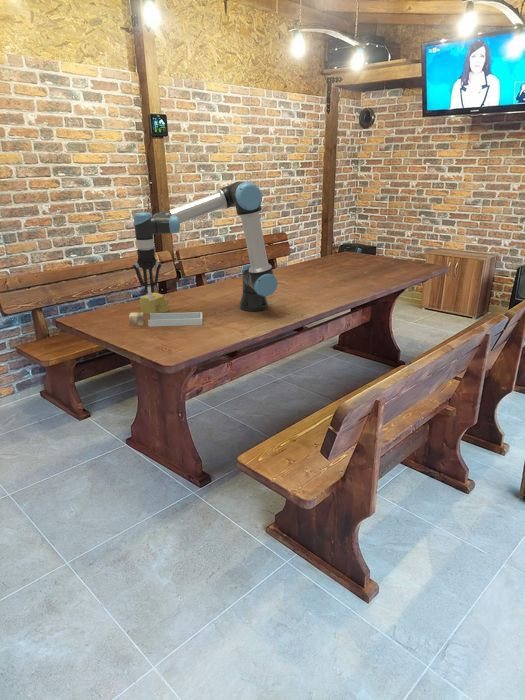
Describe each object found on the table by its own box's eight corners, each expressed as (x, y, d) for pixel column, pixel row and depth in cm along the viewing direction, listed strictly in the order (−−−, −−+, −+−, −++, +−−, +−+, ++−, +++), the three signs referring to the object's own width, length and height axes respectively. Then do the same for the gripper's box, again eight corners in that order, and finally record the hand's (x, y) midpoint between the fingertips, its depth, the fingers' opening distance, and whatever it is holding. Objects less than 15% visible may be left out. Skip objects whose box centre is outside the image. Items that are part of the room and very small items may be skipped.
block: (143, 312, 231) (130, 312, 230) (142, 316, 226) (128, 316, 225) (144, 324, 233) (131, 324, 233) (143, 328, 228) (130, 328, 227)
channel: (202, 320, 239) (202, 312, 237) (202, 327, 229) (202, 318, 227) (150, 322, 236) (149, 313, 234) (148, 329, 226) (147, 320, 224)
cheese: (169, 313, 250) (168, 294, 246) (155, 319, 241) (154, 299, 237) (154, 310, 255) (153, 291, 251) (139, 315, 246) (138, 296, 242)
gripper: (161, 246, 222) (165, 297, 231) (131, 247, 221) (137, 298, 229) (159, 249, 215) (164, 301, 224) (129, 250, 214) (135, 302, 222)
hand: (150, 299), depth 227 cm, fingers closed
